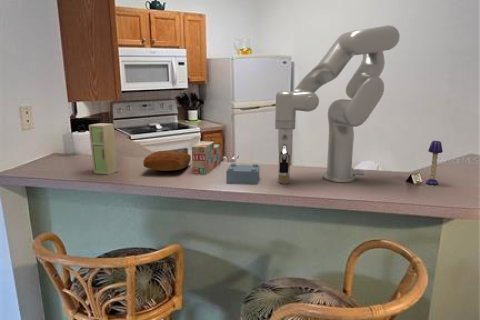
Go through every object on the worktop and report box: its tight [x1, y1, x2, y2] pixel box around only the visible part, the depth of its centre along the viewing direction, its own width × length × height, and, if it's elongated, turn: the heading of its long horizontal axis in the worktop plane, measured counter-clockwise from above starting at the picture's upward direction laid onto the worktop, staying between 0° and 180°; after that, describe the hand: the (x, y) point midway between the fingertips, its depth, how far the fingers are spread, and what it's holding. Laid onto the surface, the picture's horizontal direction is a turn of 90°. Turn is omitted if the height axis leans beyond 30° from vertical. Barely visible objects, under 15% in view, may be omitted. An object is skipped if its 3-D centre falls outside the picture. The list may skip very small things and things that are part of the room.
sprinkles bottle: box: [277, 152, 291, 185], centre depth 135 cm, size 5×5×14 cm
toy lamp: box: [425, 140, 444, 187], centre depth 132 cm, size 5×5×17 cm
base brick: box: [225, 162, 260, 185], centre depth 139 cm, size 12×10×6 cm
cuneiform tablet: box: [142, 150, 192, 172], centre depth 155 cm, size 22×17×8 cm
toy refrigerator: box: [88, 122, 119, 175], centre depth 150 cm, size 8×7×21 cm
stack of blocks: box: [191, 140, 222, 176], centre depth 157 cm, size 21×6×12 cm, turn 166°
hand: (283, 169), depth 136 cm, fingers open, 8 cm apart
